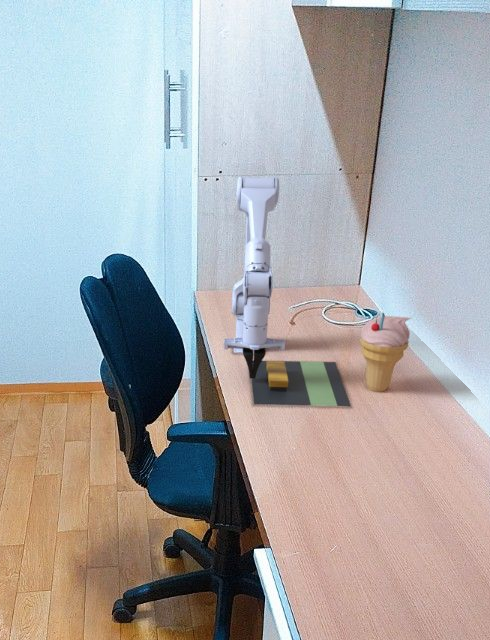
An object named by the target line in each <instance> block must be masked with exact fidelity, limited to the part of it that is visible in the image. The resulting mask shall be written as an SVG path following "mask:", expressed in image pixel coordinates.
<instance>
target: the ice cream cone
mask: <svg viewBox="0 0 490 640" xmlns="http://www.w3.org/2000/svg"><path fill="white" fill-rule="evenodd" d="M411 319H412V317H407V316H393V315H392V316H391V315H385V313H384V312H382V313H381V316H380V317H376V318H375V317H374V318H372V319H371V320H369V321H367V322H366V323H365V324H364V325H363V326H362V328H361V330H360V331H361V332H360V333H361V336H360V338H359V343H360V345H361V346H362V348H361V354H362V356H363V357H364V359H365V363H366V364H365V365H366V369H365V383H366V386H367V389H368V390H369V391H372V392H378V393H381V392H386V390H387V389H388V387H389V386H390V384H391V380H392V377H393V373H394V370H395V366H396V365H397V363H398V362H399V361H400V360H402V359H403V357H404V351H405V350H407V348H408V347H409V344H410V343H409V341H410V340H409V339H410V330H409V328H408V326H407V324H406V322H407V321H409V320H411Z"/></svg>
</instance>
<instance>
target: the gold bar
mask: <svg viewBox="0 0 490 640" xmlns="http://www.w3.org/2000/svg"><path fill="white" fill-rule="evenodd" d="M266 361H267V364H266V368H267V375H268V382H269V387H270V391H286V387H288V377H287V372H286V367H285V362H282V361H283V360H266Z"/></svg>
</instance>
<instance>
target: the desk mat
mask: <svg viewBox="0 0 490 640" xmlns="http://www.w3.org/2000/svg"><path fill="white" fill-rule="evenodd" d="M267 361H268V360H262V361H261V363H260V365H259V367H258V370H257V373H256V377H255V378H251V386H252V387H251V388H252V398H253V405H264V406H265V405H266V406H312V407H313V406H314V407H316V406H317V407H351V402H350V401H349V398H348V395H347V392H346V390H345V387H344V382H343V380H342V378H341V374H340V373H339V370H338V366H337V364H336V362H335V361H292V360H290V361H289V360H288V361H287V360H281V361H282V362H285V367H286V372H287V377H288V387H286V391H270V387H269V382H268V375H267V368H266V364H267ZM253 363H254V360H253Z"/></svg>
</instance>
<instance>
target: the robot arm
mask: <svg viewBox="0 0 490 640" xmlns="http://www.w3.org/2000/svg"><path fill="white" fill-rule="evenodd" d="M236 182H237V183H236V207H237V210H238V211H240V212H243V213H244V216H245V219H246V221H245V223H246V224H245V242H244V244H245V245H244V246H245V247H244V266H243V269H244V270H243V278H241V279H240V280H238V281H237V282H235V284H234V285H233V287H232V294H231V314H232V315H233V316H234V317H235V337H233V338H223V350H229V349H231V350H232V349H233V353H234V354H243V358H244V360H245V363H246V365H247V368H248V375H249V376H248V377H249V379H252V378H255V377H256V373H257V370H258V367H259V365H260V363H261V361H264V358H265V356H266V350H279V351H282V352H283V351H284V352H285V351H286V340H285V339H277V338H271V337H270V338H269V337H268V325H269V315H270V311H271V297H272V293H273V287H274V277H273V270H272V269H273V268H272V266H271V245H270V243H269V242H268V241H267V240H266V235H267V225H268V216H269V215H268V214H269V212H273V211H275V209H276V207H277V205H278V202H279V197H280V179H279V178H278V176H274V177H273V176H272V177H269V176H267V177H265V176H242V175H240V176H239V177H238V178H237V180H236ZM253 361H254V363H253Z"/></svg>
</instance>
